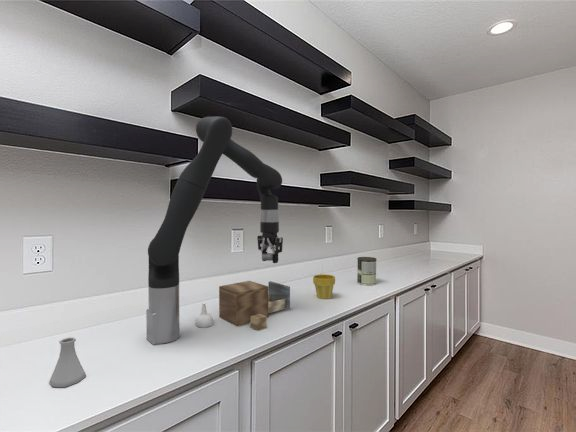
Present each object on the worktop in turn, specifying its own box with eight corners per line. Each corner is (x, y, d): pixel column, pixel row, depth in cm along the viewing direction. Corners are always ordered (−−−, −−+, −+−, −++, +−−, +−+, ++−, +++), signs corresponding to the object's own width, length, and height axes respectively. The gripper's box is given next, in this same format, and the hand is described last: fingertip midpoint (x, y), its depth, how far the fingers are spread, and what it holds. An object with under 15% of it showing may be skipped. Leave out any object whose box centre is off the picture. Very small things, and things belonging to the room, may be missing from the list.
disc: (281, 259, 129) (281, 254, 129) (268, 261, 125) (268, 256, 125) (271, 257, 134) (271, 252, 134) (258, 259, 130) (258, 254, 130)
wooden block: (257, 330, 109) (257, 319, 109) (250, 327, 112) (250, 316, 112) (266, 327, 112) (266, 316, 112) (259, 324, 115) (259, 313, 115)
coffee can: (353, 283, 177) (353, 258, 177) (364, 280, 184) (364, 256, 184) (369, 286, 170) (369, 260, 169) (379, 283, 177) (380, 258, 176)
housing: (237, 326, 113) (237, 293, 112) (219, 317, 122) (219, 286, 122) (268, 317, 122) (268, 286, 122) (249, 309, 131) (249, 280, 131)
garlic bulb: (215, 323, 117) (215, 301, 118) (210, 328, 111) (210, 305, 111) (198, 323, 118) (199, 301, 118) (192, 328, 111) (193, 304, 112)
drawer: (262, 316, 120) (262, 292, 120) (243, 308, 130) (243, 286, 129) (292, 308, 131) (292, 286, 130) (272, 301, 140) (272, 280, 140)
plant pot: (308, 296, 151) (308, 276, 150) (323, 292, 157) (323, 273, 157) (324, 301, 143) (324, 280, 143) (339, 297, 150) (339, 276, 149)
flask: (42, 384, 76) (41, 343, 75) (72, 370, 83) (72, 332, 82) (63, 391, 73) (62, 348, 73) (92, 375, 80) (91, 336, 80)
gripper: (288, 221, 126) (288, 263, 127) (266, 220, 137) (266, 258, 138) (273, 221, 121) (273, 265, 122) (251, 220, 132) (252, 260, 133)
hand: (269, 261), depth 130 cm, fingers closed on disc, 6 cm apart
